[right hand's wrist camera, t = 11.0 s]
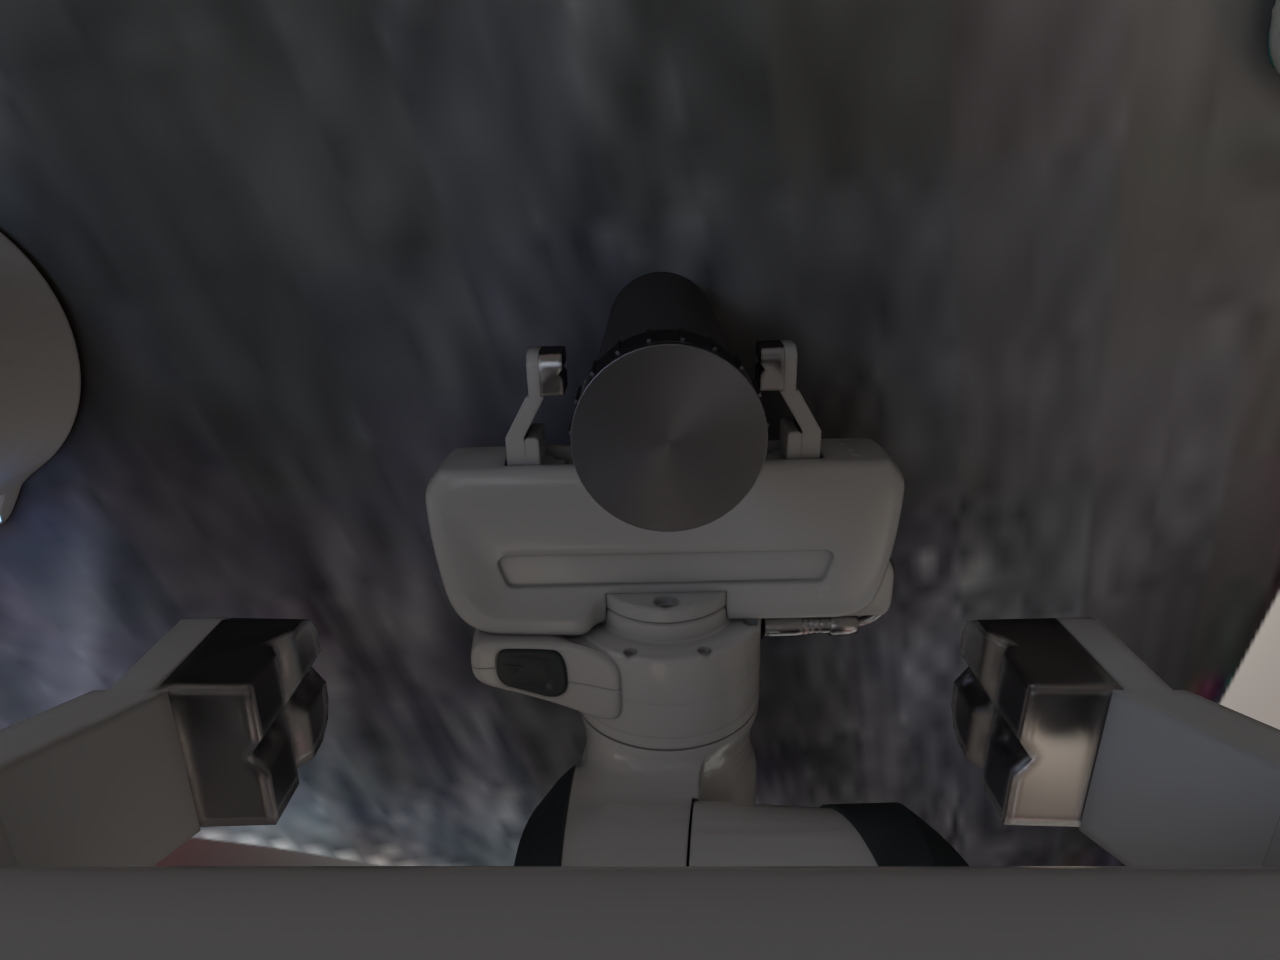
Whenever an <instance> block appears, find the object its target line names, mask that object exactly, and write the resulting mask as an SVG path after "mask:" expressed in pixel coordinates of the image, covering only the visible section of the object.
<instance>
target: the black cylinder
mask: <svg viewBox="0 0 1280 960" xmlns="http://www.w3.org/2000/svg"><path fill="white" fill-rule="evenodd" d="M679 328H683V331H689V332H692V333H696V334H700V335H702V336H704V337H707V338H710V336H711V337H713V338H714V341H715V342H716V343H718V344H720V345H721V346H723V347H724V348H725V349H726V350H728V348H727V346H726V343H725V341H724V338H723V336H722V334H721V331H720V329H719V327H718V324H717V322H716V320H715V317H714V315H713V313H712V310H711V308H710V305H709V303H708V301H707V299H706V297H705V296H704V294H703V293H702V291H701V290H700V289H699V288H698V287H697V286H696V285H695V284H694V283H692V282H691V281H690V280H688V279H686V278H684V277H682V276H680V275H677V274H673V273H668V272H655V273H649V274H646V275H643V276H640V277H638V278H636V279H635V280H633V281H632V282H630V283H629V284H628V285H626V286H625V288H624V289H623V290H622V291H621V292H620V293H619V295H618V296H617V298H616V300H615V301H614V304H613V306H612V309H611V313H610V317H609V321H608V324H607V328H606V332H605V336H604V339H603V343H602V347H601V351H600V354H599V358H598V360H599V359H600V358H601V357H602V356H603V355H604V354H605V353H606V352H607V351H609V350H610V349H611V348H613V347H614V346H615V345H616V344H617V341H619V340H621V342H622V341H624V340H626V339H628V338H630V337H633V336H635V335H637V334H641V333H645V332H647V329H651V331H654V330H662V329H671V330H679ZM728 351H729V350H728Z"/></svg>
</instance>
